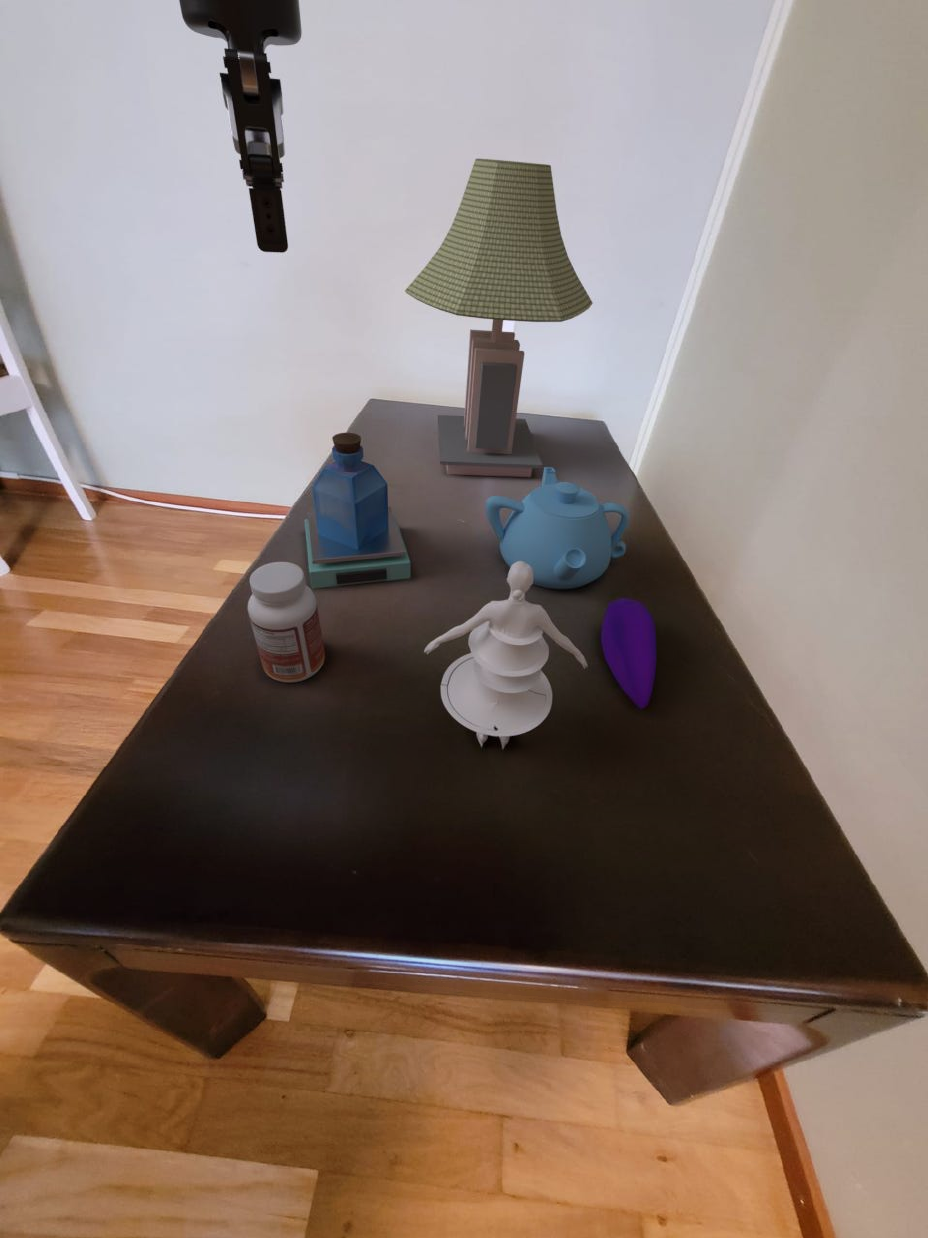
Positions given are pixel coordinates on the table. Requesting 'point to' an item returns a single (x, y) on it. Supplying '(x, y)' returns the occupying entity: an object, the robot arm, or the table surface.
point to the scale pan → (338, 552)
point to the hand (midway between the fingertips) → (273, 242)
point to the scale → (357, 569)
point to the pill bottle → (285, 622)
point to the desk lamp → (499, 306)
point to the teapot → (558, 533)
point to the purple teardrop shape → (630, 648)
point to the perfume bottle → (350, 496)
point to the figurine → (503, 664)
